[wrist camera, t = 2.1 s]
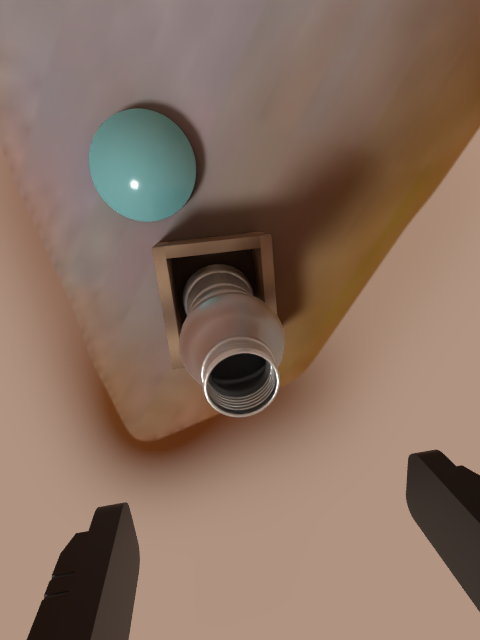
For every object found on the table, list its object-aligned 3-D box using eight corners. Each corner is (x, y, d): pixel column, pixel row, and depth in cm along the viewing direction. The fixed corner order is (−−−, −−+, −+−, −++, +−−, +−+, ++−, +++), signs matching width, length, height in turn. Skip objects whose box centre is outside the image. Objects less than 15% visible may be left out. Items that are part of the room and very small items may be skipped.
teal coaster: (82, 116, 30) (77, 112, 29) (188, 108, 30) (188, 104, 29) (105, 226, 32) (101, 226, 31) (202, 215, 33) (202, 216, 32)
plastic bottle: (175, 269, 34) (151, 341, 15) (242, 253, 35) (299, 303, 16) (192, 329, 36) (190, 458, 18) (255, 313, 37) (320, 423, 18)
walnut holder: (157, 242, 33) (151, 247, 29) (260, 231, 34) (271, 234, 30) (175, 348, 37) (172, 369, 32) (269, 336, 38) (279, 354, 33)
